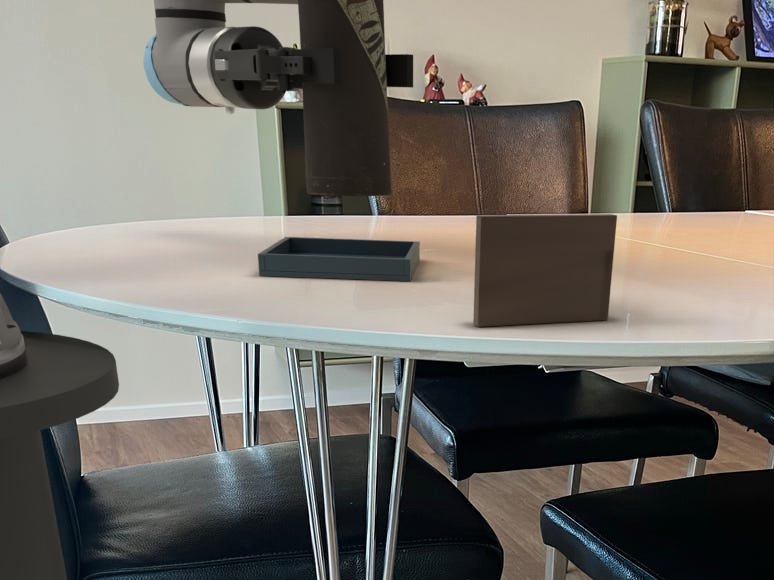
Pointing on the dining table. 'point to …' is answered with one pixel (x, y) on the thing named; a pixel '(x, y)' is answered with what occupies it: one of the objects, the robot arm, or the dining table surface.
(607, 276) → the brown wooden block
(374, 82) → the container
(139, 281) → the dining table surface
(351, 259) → the tray
